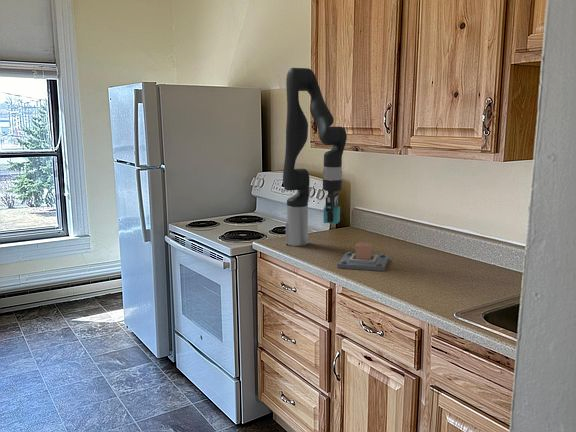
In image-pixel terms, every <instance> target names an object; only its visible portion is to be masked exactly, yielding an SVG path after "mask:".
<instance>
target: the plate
mask: <svg viewBox="0 0 576 432" xmlns="http://www.w3.org/2000/svg"><path fill="white" fill-rule="evenodd" d="M388 262H389V255H386V254H385V253H380V254H373V253H372V259H371V260H360V259H355V253H353V252H352V251H346V252H345V253H344V254H343V256H342V257H341V259H340V260H339V261H338V262H337V264H336V265H337V268H338V269H347V270H348V269H350V270H361V271H363V270H364V271H378V272H385V270H386V266H387V264H388Z"/></svg>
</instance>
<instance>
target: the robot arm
mask: <svg viewBox="0 0 576 432" xmlns="http://www.w3.org/2000/svg"><path fill="white" fill-rule="evenodd" d="M285 81H286V82H285V85H286V125H285V126H286V127H285V153H284V154H285V155H284V163H283V170H282V185H283V188H284V189H285V191H288V192H289V191H291V192H292V191H297V192H296V193H295V194H294V195H292V196H291V197H288V198H287V200H286V223H285V245H287V244H288V246H294V247H300V246H301V247H302V246H303V247H304V246H306V245H308V244H309V237H308V236H309V227H308V226H309V199H310V181H311V180H310V179H311V178H310V174H309V171H308V170H307V169H306V168H295V167H296V162H297V158H298V157H299V154H300V153H301V151H302V150H303V148H304V147H305V145H306V142H307V141H308V133H309V122H308V119H307V116H306V115H305V113H304V111H303V109H302V106H301V105H300V99H299V93H300V92H306V93H308V94H309V96H310V104H309V105H310V106H309V112H310V114H311V117H312V119H313V121H314V122H315V125H316V127H317V132H318V137H319V140H320V142H321V143H322V144H323V145H325V146H332V147H331V149H330V150H328V151H326V152H324V153H323V171H322V190H323V191H325V192H327V194H326V196H325V206H326V212H327V221H328V222H333V212H334V207H335V206H339V205H338V204H339V191H342V190H343V170H342V169H343V167H342V165H343V164H342V163H343V159H342V158H343V154H344V150H345V147H346V142H347V138H348V135H347V131H346V129H345V128H344V127H343V126H338V125H337V126H332V125H333V124H334V119H335V118H334V117H333V114H332V113H331V110H330V109H329V108H328V106H327V104H326V102H325V99H324V96H323V94H322V91H321V88H320V85H319V82H318V79H317V76H316V74H315V73H314V71H313V69H311V68H308V67H290V68H289V69H288V71H287V74H286V79H285ZM329 207H331V209H329Z"/></svg>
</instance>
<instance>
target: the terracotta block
mask: <svg viewBox="0 0 576 432" xmlns="http://www.w3.org/2000/svg"><path fill="white" fill-rule="evenodd" d="M354 252H355V259H360V260H371V259H372V254H373V243H372V242H363V241H362V242H361V241H359V242H358V241H357V243H356V244H355V251H354Z"/></svg>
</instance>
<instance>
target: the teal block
mask: <svg viewBox="0 0 576 432" xmlns="http://www.w3.org/2000/svg"><path fill="white" fill-rule="evenodd" d="M329 209H331V207H329ZM340 222H341V206H339V205H338V206H335V207H334V212H333V222H328V221H327V212H326V205H325V206H324V207H323V224H333V225H334V224H335V225H337V224H339V223H340Z"/></svg>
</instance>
